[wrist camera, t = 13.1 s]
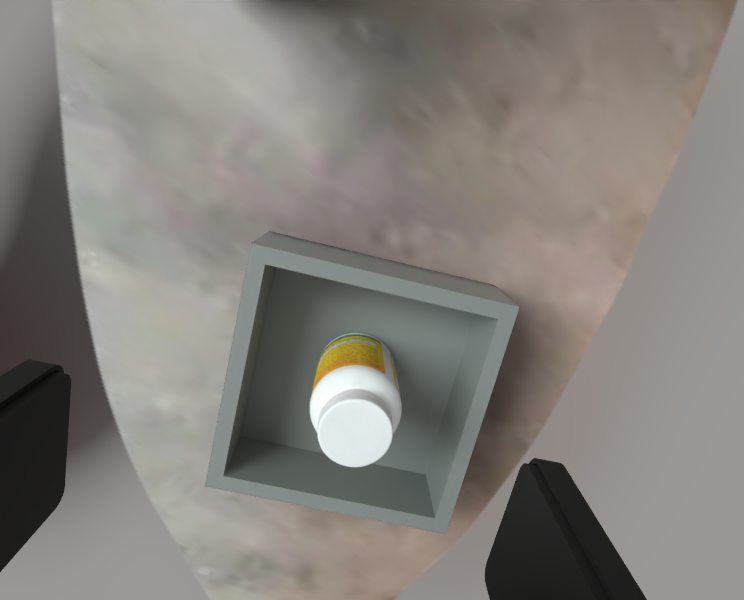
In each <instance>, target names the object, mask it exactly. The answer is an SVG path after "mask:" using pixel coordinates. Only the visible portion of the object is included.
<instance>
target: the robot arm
mask: <svg viewBox="0 0 744 600" xmlns="http://www.w3.org/2000/svg"><path fill="white" fill-rule="evenodd" d="M70 390H71V378H70V376H69V375H68V374H64V371H63V368H62V367H61V366H60V365H55V364H50V363H45V362H40V361H35V360H27V361H24V362H23V363H21V364H19V365H18V366H16V367H15V368H13V369H12V370H10V371H8V372H7V373H5V374H3V375H2V376H0V572H1V571H2V569H3V568H4V567H5V566H6V565H7V564H8V562H9V561H10V560H11V559H12V558H13V557H14V556H15V554H16V553H17V552H18V551H19V550H20V549H21V548H22V547H23V545H24V544H25V543H26V542H27V541H28V540H29V538H30V537H31V536H32V535H33V534H34V533H35V532H36V530H37V529H38V528H39V527H40V526H41V525H42V523H43V522H44V521H45V520H46V519H47V518H48V517H49V516H50V514H51V513H52V512H53V511H54V510H55V509H56V507H57V506H58V504H59V503H60V501H61V498H62V496H63V493H64V488H65V474H66V457H67V441H68V424H69V408H70V392H71V391H70ZM485 582H486V587H487V590H488V594H489V598H490V600H647V599H646V598H645V596H644V594H643V593H642V591H641V589H640V588H639V586H638V585H637V583H636V582H635V580H634V578H633V577H632V575H631V573H630V572H629V570H628V568H627V567H626V565H625V564H624V562H623V560H622V559H621V557H620V556H619V554H618V552H617V551H616V549H615V547H614V546H613V544H612V543H611V541H610V540H609V538H608V536H607V535H606V533H605V531H604V530H603V528H602V526H601V525H600V524H599V522H598V520H597V518H596V517H595V515H594V514H593V512H592V510H591V509H590V507H589V506H588V504H587V502H586V501H585V499H584V497H583V496H582V494H581V492H580V491H579V489H578V488H577V486H576V484H575V483H574V482H573V480H572V478H571V476H570V475H569V473H568V471H567V470H566V468H565V467H564V466H563V465H562V464H561V463H557V462H552V461H546V460H542V459H537V458H534V459H532V460H531V461H530V463H529V464H523V465H522V466H521V468H520V470H519V473H518V476H517V479H516V481H515V484H514V487H513V490H512V493H511V496H510V499H509V502H508V504H507V507H506V510H505V513H504V515H503V518H502V521H501V524H500V527H499V530H498V532H497V535H496V538H495V541H494V544H493V547H492V549H491V552H490V555H489V558H488V560H487V564H486V568H485Z"/></svg>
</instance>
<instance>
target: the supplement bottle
mask: <svg viewBox="0 0 744 600" xmlns="http://www.w3.org/2000/svg"><path fill="white" fill-rule="evenodd" d="M401 412H402V404H401V397H400V391H399V386H398V381H397V375H396V369H395V364H394V360H393V357H392V355H391V353H390V351H389V349H388V348H387V347H386V345H385V344H384V343H383V342H381V341H380V340H379V339H377V338H376V337H373V336H371V335H367V334H363V333H348V334H344V335H341V336H339V337H337V338H335V339H334V340H332V341H331V342H330V343H329V344H328V345H327V346H326V347H325V348H324V350H323V352H322V354H321V356H320V359H319V363H318V367H317V372H316V377H315V381H314V385H313V390H312V395H311V399H310V417H311V421H312V424H313V426H314V428H315V430H316V432H317V435H318V441H319V444H320V447H321V449H322V450H323V452H324V453H325V454H326V455H327V456H328V457H329V458H330V459H331V460H332V461H334V462H336V463H338V464H340V465H343V466H348V467H363V466H366V465H369V464H372V463H374V462H376V461H377V460H379V459H380V458H381V457H382V456H383V455H384V454H385V453H386V452H387V450H388V449H389V447H390V444H391V442H392V438H393V433H394V432H395V430H396V429H397V427H398V424H399V422H400V418H401Z"/></svg>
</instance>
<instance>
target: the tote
mask: <svg viewBox="0 0 744 600" xmlns="http://www.w3.org/2000/svg"><path fill="white" fill-rule="evenodd" d="M519 308H520V307H519V306H518V305H517V304H515V303H514V302H513V301H512V300H511V299H509V298H508V297H507V296H506V295H505V294H504V293H502V292H501V291H500V290H499V289H498V288H496V287H495V286H494V285H491V284H487V283H482V282H478V281H474V280H470V279H466V278H462V277H457V276H453V275H449V274H445V273H441V272H437V271H432V270H428V269H424V268H420V267H416V266H412V265H407V264H403V263H399V262H395V261H391V260H387V259H382V258H378V257H374V256H370V255H366V254H362V253H357V252H353V251H349V250H345V249H341V248H337V247H332V246H328V245H324V244H320V243H316V242H312V241H307V240H303V239H299V238H295V237H291V236H287V235H282V234H278V233H274V232H270V231H269V232H268V233H266V234H265V235H263V236H262V237H260V238H258V239H257V240H255V241H254V242H252V243H251V246H250V251H249V256H248V261H247V267H246V272H245V277H244V283H243V288H242V293H241V299H240V304H239V309H238V314H237V320H236V325H235V330H234V336H233V341H232V346H231V351H230V357H229V362H228V367H227V373H226V378H225V383H224V389H223V394H222V399H221V404H220V410H219V415H218V420H217V426H216V431H215V436H214V441H213V447H212V452H211V457H210V463H209V468H208V473H207V478H206V484H205V487H210V488H215V489H220V490H225V491H230V492H235V493H240V494H245V495H250V496H255V497H260V498H266V499H271V500H276V501H281V502H286V503H291V504H296V505H301V506H306V507H311V508H316V509H321V510H326V511H331V512H336V513H341V514H346V515H351V516H356V517H362V518H367V519H372V520H377V521H382V522H387V523H392V524H397V525H402V526H407V527H412V528H417V529H422V530H427V531H432V532H437V533H442V534H446V532H447V529H448V526H449V523H450V520H451V517H452V514H453V510H454V507H455V504H456V501H457V498H458V495H459V492H460V489H461V486H462V483H463V480H464V477H465V474H466V470H467V467H468V464H469V461H470V458H471V455H472V452H473V449H474V446H475V443H476V440H477V437H478V434H479V431H480V427H481V424H482V421H483V418H484V415H485V412H486V409H487V406H488V403H489V400H490V397H491V394H492V391H493V387H494V384H495V381H496V378H497V375H498V372H499V369H500V366H501V363H502V360H503V357H504V354H505V351H506V348H507V344H508V341H509V338H510V335H511V332H512V329H513V326H514V323H515V320H516V317H517V314H518V311H519ZM348 333H363V334H367V335H371V336H373V337H376V338H377V339H379V340H380V341H381V342H383V343H384V344H385V345H386V347H387V348H388V349H389V351H390V353H391V355H392V357H393V360H394V364H395V369H396V375H397V381H398V386H399V391H400V397H401V404H402V412H401V418H400V422H399V424H398V427H397V429H396V430H395V432H394V433H393V438H392V442H391V444H390V447H389V449H388V450H387V452H386V453H385V454H384V455H383V456H382V457H381V458H380V459H379V460H377V461H376V462H374V463H372V464H369V465H366V466H363V467H348V466H343V465H340V464H338V463H336V462H334V461H332V460H331V459H330V458H329V457H328V456H327V455H326V454H325V453H324V452H323V450H322V449H321V447H320V444H319V441H318V435H317V432H316V430H315V428H314V426H313V424H312V421H311V417H310V399H311V395H312V390H313V385H314V381H315V377H316V372H317V367H318V363H319V359H320V356H321V354H322V352H323V350H324V348H325V347H326V346H327V345H328V344H329V343H330V342H331V341H332V340H334V339H335V338H337V337H339V336H341V335H344V334H348Z"/></svg>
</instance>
